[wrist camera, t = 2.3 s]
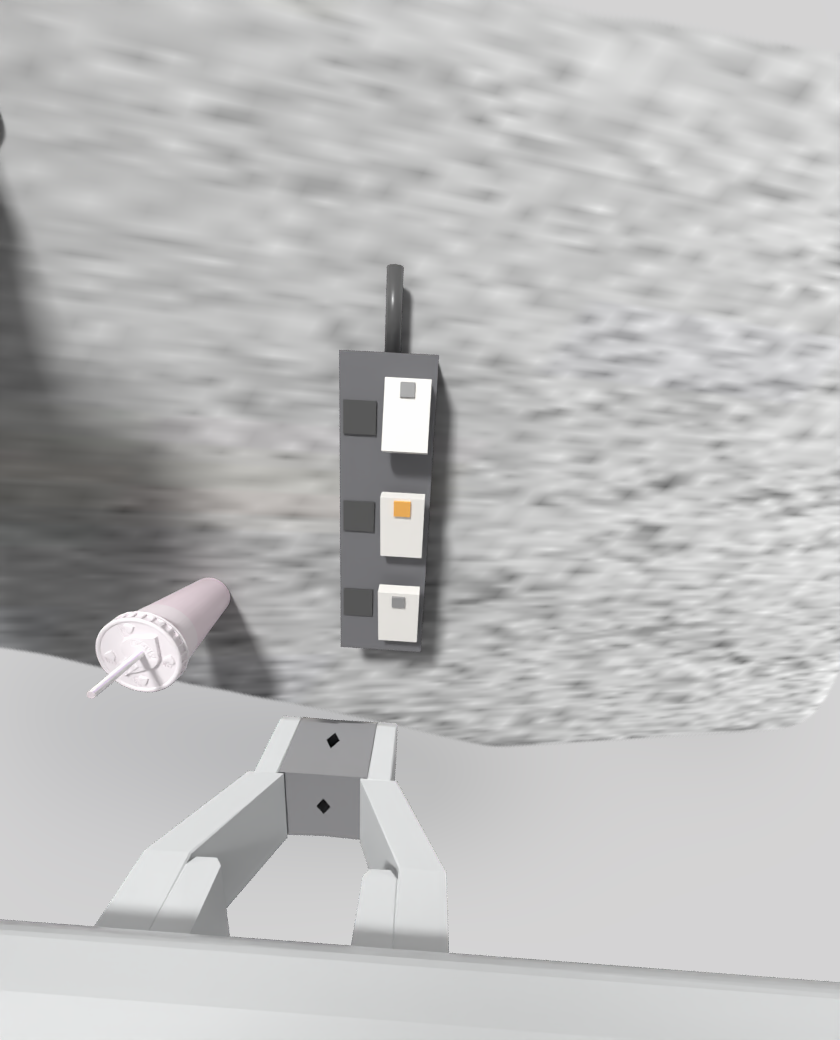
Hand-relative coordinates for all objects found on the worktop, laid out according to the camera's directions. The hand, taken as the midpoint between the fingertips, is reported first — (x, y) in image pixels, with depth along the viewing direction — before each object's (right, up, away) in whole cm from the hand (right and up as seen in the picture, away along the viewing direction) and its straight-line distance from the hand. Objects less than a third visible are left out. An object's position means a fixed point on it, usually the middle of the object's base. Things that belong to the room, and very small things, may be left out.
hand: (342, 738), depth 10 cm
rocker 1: (+1, +13, +18) cm, 22 cm away
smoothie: (-18, -2, +27) cm, 33 cm away
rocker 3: (0, -1, +22) cm, 22 cm away
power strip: (0, +10, +23) cm, 25 cm away
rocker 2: (+1, +6, +20) cm, 21 cm away
